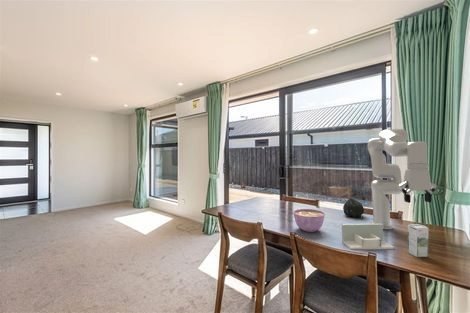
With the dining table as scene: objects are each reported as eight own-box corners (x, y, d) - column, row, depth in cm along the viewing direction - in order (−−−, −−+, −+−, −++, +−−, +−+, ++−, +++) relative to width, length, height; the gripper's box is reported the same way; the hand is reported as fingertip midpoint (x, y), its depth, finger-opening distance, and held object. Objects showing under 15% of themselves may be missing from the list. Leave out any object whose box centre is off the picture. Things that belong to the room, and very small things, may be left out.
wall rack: (342, 241, 128) (341, 224, 127) (381, 241, 127) (381, 223, 127) (351, 249, 117) (350, 230, 117) (394, 249, 116) (393, 230, 116)
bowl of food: (297, 223, 161) (296, 207, 161) (326, 227, 152) (326, 210, 152) (290, 232, 143) (289, 214, 143) (323, 237, 134) (323, 218, 134)
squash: (367, 208, 178) (353, 193, 183) (367, 213, 165) (352, 197, 170) (353, 218, 184) (339, 203, 189) (352, 224, 171) (337, 208, 176)
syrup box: (418, 252, 112) (418, 223, 112) (429, 257, 106) (428, 227, 106) (407, 252, 112) (407, 223, 112) (417, 257, 106) (417, 227, 106)
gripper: (428, 166, 112) (429, 200, 112) (393, 166, 113) (394, 200, 113) (442, 167, 104) (442, 203, 105) (404, 167, 105) (405, 204, 105)
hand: (417, 202), depth 109 cm, fingers open, 9 cm apart
